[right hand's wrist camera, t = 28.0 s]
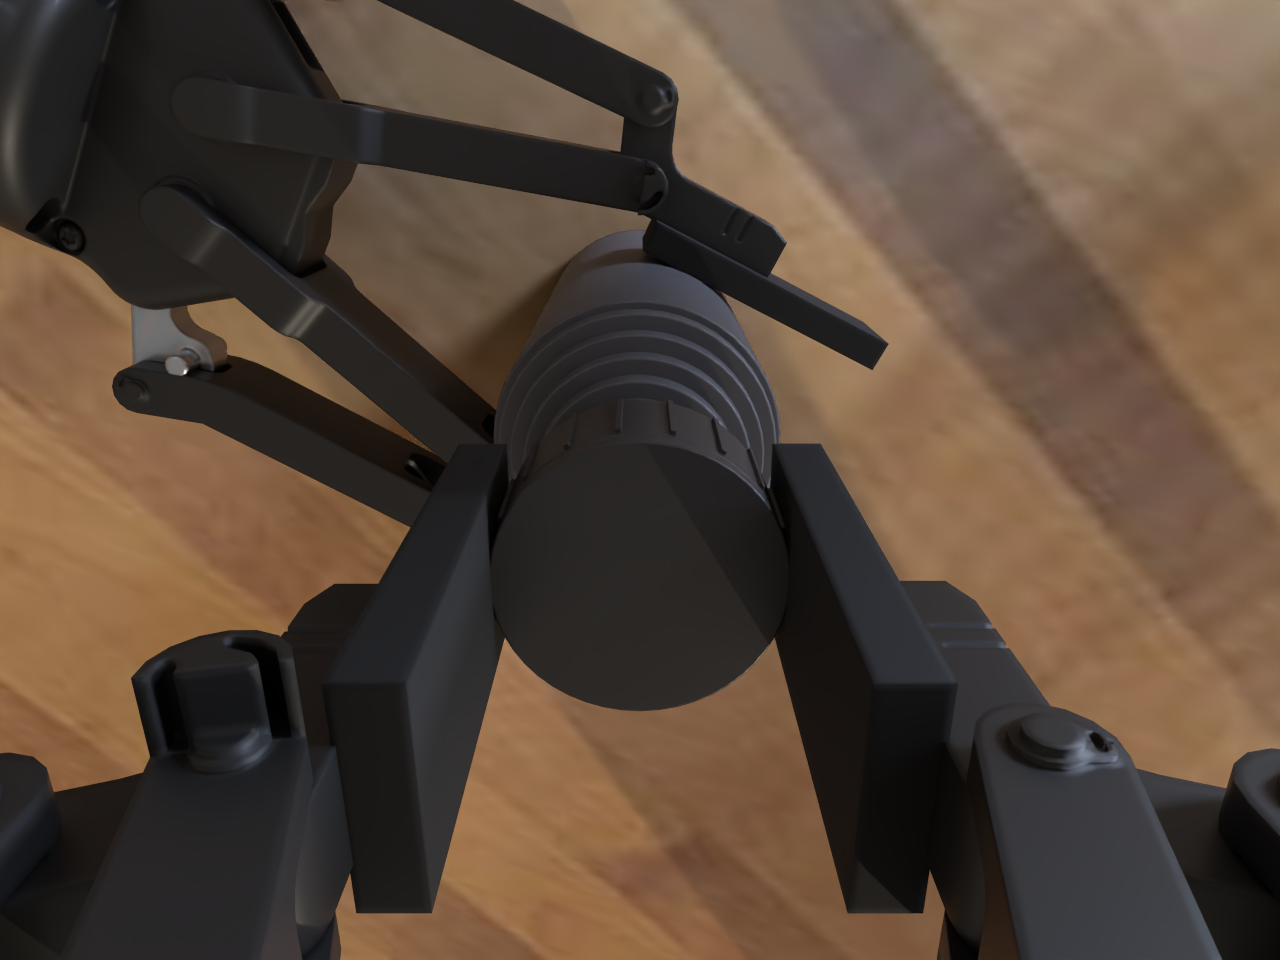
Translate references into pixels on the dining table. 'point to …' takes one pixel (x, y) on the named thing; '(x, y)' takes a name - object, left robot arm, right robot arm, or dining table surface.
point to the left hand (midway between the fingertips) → (803, 447)
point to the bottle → (634, 352)
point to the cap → (639, 557)
